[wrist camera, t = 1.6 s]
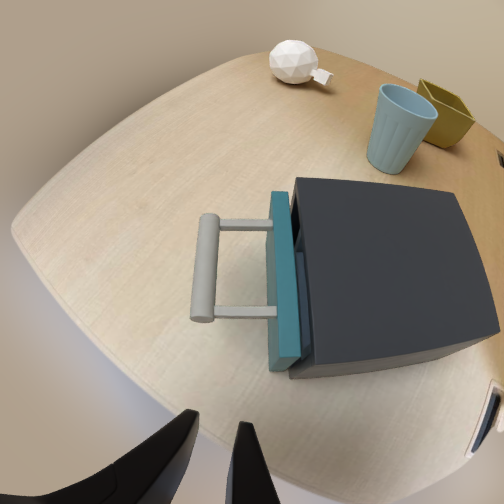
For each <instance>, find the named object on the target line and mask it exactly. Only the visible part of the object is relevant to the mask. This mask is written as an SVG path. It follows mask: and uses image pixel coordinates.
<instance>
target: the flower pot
mask: <svg viewBox="0 0 504 504" xmlns="http://www.w3.org/2000/svg"><path fill="white" fill-rule="evenodd" d="M417 94H419V95H421V96H422V97H423V98H425V99H426V100H427V101H429V102H430V103H431V104H432V105H433V106H434V108H435V109H436V110H437V113H438V117H437V119H436V120H435V122H434V123H433V125H432V126H431V128H430V129H429V131H428V133H427V134H426V136H425V137H424V139H423V140H425V141H427V142H430V143H432V144H434V145H437V146H439V147H441V148H447V147H449V146H452V145H454V144H456V143H457V142H458V141H460V140H461V139H462V138H463V136H464V135H465V134H466V133H467V131H468V130H469V129H470V127H471V126H472V125H473V124H474V122H475V121H476V120H475V118H474V117H473V116H472V114H471V112H470V111H469V109H468V108H467V107H466V105H465V104H464V102H463V101H462V99H461V98H460V97H459V96H457V95H455V94H453V93H451V92H450V91H447V90H445V89H443V88H441V87H439V86H437V85H435V84H433V83H430V82H428V81H426V80H423V79H420V81H419V85H418V89H417Z"/></svg>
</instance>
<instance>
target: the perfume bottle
mask: <svg viewBox="0 0 504 504" xmlns="http://www.w3.org/2000/svg"><path fill="white" fill-rule="evenodd" d="M269 57H270V68H271V70H272V72H273V75H274V76H276V77H277V78H279V79H280V80H282V81H283V82H285V83H292V84H299V83H303V82H306V81H309V80H310V79H311V78H312V76H314V79H313V80H315V81H317V82H319V83H321V84H323V85H329V84H330V81H331V79H332V77H333V74H331V73H329V72H327V71H325V70H323V69H318V70H317V66H318V58H317V56H316V53H315V51H314V49H313V48H311V47H310V46H309V45H307V44H306V43H304V42H303V41H295V40H286V41H284V42H282V43H279V44H278V45H277V46H276V47H275V48H274V49H273V50H272V51H271V53H270V54H269Z"/></svg>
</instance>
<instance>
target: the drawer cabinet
mask: <svg viewBox="0 0 504 504" xmlns="http://www.w3.org/2000/svg"><path fill="white" fill-rule="evenodd" d="M290 214H291V224H292V235H293V245H294V248H295V244H296V240H297V237H298V233H299V230H301V239H302V248H303V257H304V267H305V277H306V288H307V300H308V313H309V326H310V341H311V353H310V354H309V355H308V356H307V357H305V358H304V359H303V360H302V361H301V357H300V358H299V359H298V360H296V361H295V362H294V363H293V364H292V365H291V366H289V379H305V378H319V377H330V376H341V375H350V374H358V373H365V372H373V371H379V370H386V369H392V368H397V367H403V366H408V365H413V364H418V363H423V362H428V361H432V360H436V359H439V358H442V357H445V356H447V355H450V354H452V353H455V352H457V351H460V350H462V349H465V348H467V347H469V346H472V345H474V344H476V343H478V342H481V341H483V340H485V339H487V338H489V337H491V336H493V335H495V334H497V333H499V332H500V327H499V322H498V317H497V313H496V308H495V304H494V300H493V297H492V293H491V289H490V286H489V282H488V279H487V276H486V272H485V269H484V266H483V263H482V260H481V257H480V254H479V252H478V249H477V246H476V243H475V241H474V238H473V236H472V233H471V231H470V228H469V226H468V224H467V221H466V219H465V217H464V214H463V212H462V210H461V208H460V206H459V203H458V201H457V199H456V197H455V195H454V193H450V192H444V191H438V190H431V189H424V188H417V187H409V186H401V185H392V184H383V183H373V182H363V181H351V180H338V179H322V178H303V177H296V180H295V186H294V191H293V196H292V201H291V206H290ZM294 257H295V256H294ZM295 269H296V268H295ZM296 281H297V280H296ZM297 295H298V294H297ZM298 309H299V308H298ZM299 325H300V324H299ZM300 343H301V342H300Z"/></svg>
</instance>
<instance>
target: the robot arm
mask: <svg viewBox="0 0 504 504" xmlns="http://www.w3.org/2000/svg"><path fill="white" fill-rule="evenodd" d="M198 429H199V412H198V411H195V410H191V409H186V410H184V411H183V412H182V413H181V414H179V415H178V416H177V417H176V418H174V419H173V420H172V421H170V422H169V423H168V424H167V425H165V426H164V427H163V428H161V429H160V430H159V431H157V432H156V433H154V434H153V435H152V436H150V437H149V438H148V439H147V440H145V441H144V442H142V443H141V444H140V445H138V446H137V447H135V448H134V449H132V450H131V451H130V452H128V453H127V454H125V455H124V456H122V457H121V458H119V459H118V460H116V461H115V462H114V463H113V464H110V465H109V466H107V467H106V468H104V469H102V470H101V471H99V472H97V473H96V474H94V475H92V476H90V477H88V478H86V479H84V480H82V481H80V482H78V483H75V484H73V485H70V486H68V487H65V488H63V489H61V490H58V491H55V492H52V493H50V494H46V495H42V496H34V497H33V496H16V495H7V494H0V504H170V503H171V501H172V499H173V497H174V495H175V493H176V491H177V489H178V487H179V485H180V482H181V480H182V478H183V476H184V474H185V471H186V469H187V466H188V463H189V461H190V457H191V454H192V450H193V447H194V444H195V440H196V437H197V433H198ZM225 504H281V503H280V501H279V498H278V495H277V493H276V490H275V487H274V485H273V482H272V479H271V476H270V473H269V470H268V467H267V465H266V462H265V459H264V456H263V453H262V450H261V447H260V444H259V441H258V438H257V435H256V432H255V429H254V426H253V424H252V423H250V422H245V421H240V422H239V426H238V430H237V435H236V439H235V443H234V448H233V452H232V457H231V462H230V467H229V472H228V477H227V488H226V500H225Z"/></svg>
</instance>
